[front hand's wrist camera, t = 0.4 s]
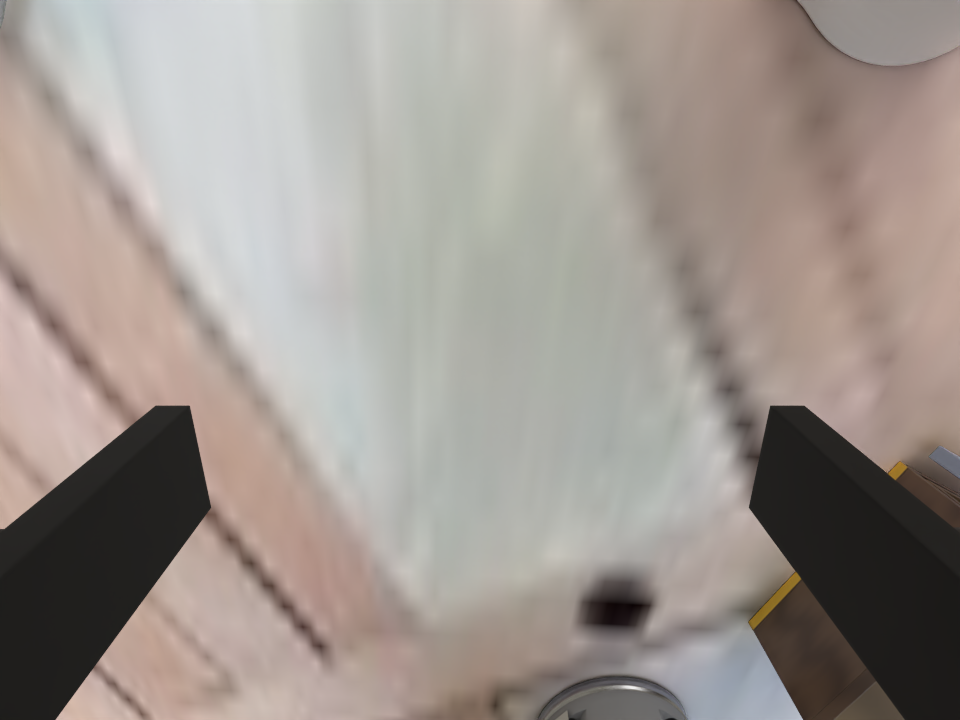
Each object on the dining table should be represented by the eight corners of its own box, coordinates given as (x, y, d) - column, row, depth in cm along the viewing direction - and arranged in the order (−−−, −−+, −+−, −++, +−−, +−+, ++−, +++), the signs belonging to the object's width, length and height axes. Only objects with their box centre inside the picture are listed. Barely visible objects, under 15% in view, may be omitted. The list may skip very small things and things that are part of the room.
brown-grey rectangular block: (899, 461, 45) (1018, 552, 35) (997, 514, 47) (1137, 615, 37) (748, 622, 51) (812, 738, 41) (840, 663, 53) (923, 784, 43)
